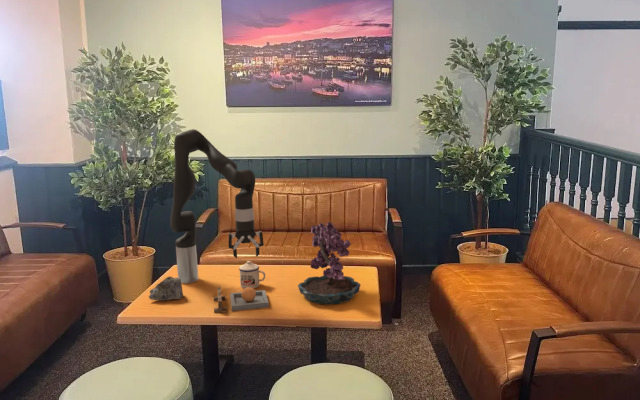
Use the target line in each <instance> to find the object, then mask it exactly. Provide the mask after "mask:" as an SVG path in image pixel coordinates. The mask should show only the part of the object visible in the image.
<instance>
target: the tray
mask: <svg viewBox="0 0 640 400" xmlns="http://www.w3.org/2000/svg"><path fill="white" fill-rule="evenodd" d="M255 292H256V296H255V298H254V300H252V301H250V302H247V301H245V300H243V298H242V296H241V294H242V291H239V292H230V293H229V298H230V306H231V312H235V311H244V310H245V311H247V310H256V309H257V310H258V309H265V308H270V305H269V299H268V296H267V293H266V290H265V289H263V290H255Z"/></svg>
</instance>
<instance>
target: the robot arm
mask: <svg viewBox="0 0 640 400" xmlns="http://www.w3.org/2000/svg"><path fill="white" fill-rule="evenodd" d="M173 146H174V178H173V193H172V195H173V196H172V197H173V199H172V205H171V214H170V217H169V218H170V229H171V231H172V232H173V233H184V232H185V233H184V234H183V235H182V236H180V237H179V238H177V239H176V240H175V255H176V267H177V278H180V280H181V284H191V283H195V282H198V281H199V265H198V254H197V242H196V241H197V233H196V230H197V229H196V226H197V223H196V215H195V214H194V212H193V211H191V210H188V211H182V210H183V209H184V207H185V205H186V204H187V203H188V202H189V200H190V199H191V198H192V196H193V195H194V193H195V192H196V191H195V189H196V181H197V180H196V179H197V178H196V175H195V173H194V171H193V170H192V168H191V166H190V165H189V157H190V154H191V153H194V152H196V151H200V152H202V153H203V154H205V155H206V158H207V160H208V163H209V164H210V166H211V167H212V169H214V170H215V171H216V172H218V173H219V174H221V175H222V176H223V178H224V179H225V180H226V181H227V182H228V184H229V185H231V187H233V188H235V189H237V190H238V189H240V190H239V192H238V193H237V194H235V197H234V202H235V206H234V207H235V212H234V219H235V233H232V232H229V233H228V246H227V247H228V249H232V253H233V254H232V256H233V257H234V258H235V259H237V258H238V250H237V248H238V247H239V246H240V244H251V243H252V244H253V245H254V246H255V257H259V256H260V248H261V247H264V246H265V245H264V243H265V242H264V237H263V236H264V235H263V231H262V230H259V231H256V230H255V215H254V214H255V213H254V207H253V206H254V201H253V195H254V192H255V186H256V177H255V176H256V175H255V173H254V172H253V171H252V170H251V169H249V168H248V169H247V168H245V169H242V170H238V168H237V167H238V166H237V164H236V163H235V162H234V161H233V160H232V159H230V158H229V157H227V156H226V155H224V154H223V153H222V152H221V151H219V150H218V149H217V148H216V147H215V145H213V144H212V143H211V141H210V140H208V138H206V136H204V134H202V132H200V131H199V130H197V129H194V128H192V129H189V130H185V131H182V132H179V133H177V134H176V136H175V137H174V144H173ZM256 236H257V237H258V238H259V243H258V242H257V240H256V239H255V237H256ZM234 238H236V240H235V242H234V244H233V241H232V240H233V239H234Z"/></svg>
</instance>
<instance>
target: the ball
mask: <svg viewBox="0 0 640 400" xmlns="http://www.w3.org/2000/svg"><path fill="white" fill-rule="evenodd" d="M255 291H256V290H255V288H251V287H247V288H245V289H244V288H242V291H241V292H242V294H241V296H242V298H243V300H245V301H247V302H250V301H252V300H254V298H255V296H256V292H255Z"/></svg>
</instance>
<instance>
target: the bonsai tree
mask: <svg viewBox="0 0 640 400" xmlns="http://www.w3.org/2000/svg"><path fill="white" fill-rule="evenodd" d="M310 232H311V235H313V234H314V235H313V236H312V241H311V242H312V243H311V245H312V247H313V248H317V247H318V248H319V250H318V251H317V254H316V256H315V257H314V258H313V259H311V261H310V268H311V269H312V270H313V269H315V270H318V269H320V268H321V269H323V271H322V275H321V276H309V277H307V278H306V279H304V280H303V282H299V284H298V285H297V288H298V291H299V293H300V294H301V295H303V296H304V298H305V299H306V300H307V301H309V302H311V303H314V304H317V305H328V306H330V305H339V304H343V303H348V302H349V301H351V300H352V299H353V298H354V296H355V295H356V294H359V292H360V289H361V283H360V282H358V281H355V279H354V278H353V277H352V276H346V275H344V272H343V270H344V265H343V264H342V261H340V260H341V258H342V257H348V256H349V255H350V251H349V249H348V248H350V246H351V245H352V243H351V241H350V240H349V239H346V240H343V239H342V233H341V232H339V231H338V230H337V228H336V227H335V225H334V224H333V223H332V222H331V221H329V222H326V224H325V223H324V222H320V223H319V224H318V225H315V224H314V225H312V226H311V227H310ZM336 252H337V253H336ZM335 253H336V254H337V255H336V254H335ZM340 257H341V258H340ZM328 266H329V267H328Z"/></svg>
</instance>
